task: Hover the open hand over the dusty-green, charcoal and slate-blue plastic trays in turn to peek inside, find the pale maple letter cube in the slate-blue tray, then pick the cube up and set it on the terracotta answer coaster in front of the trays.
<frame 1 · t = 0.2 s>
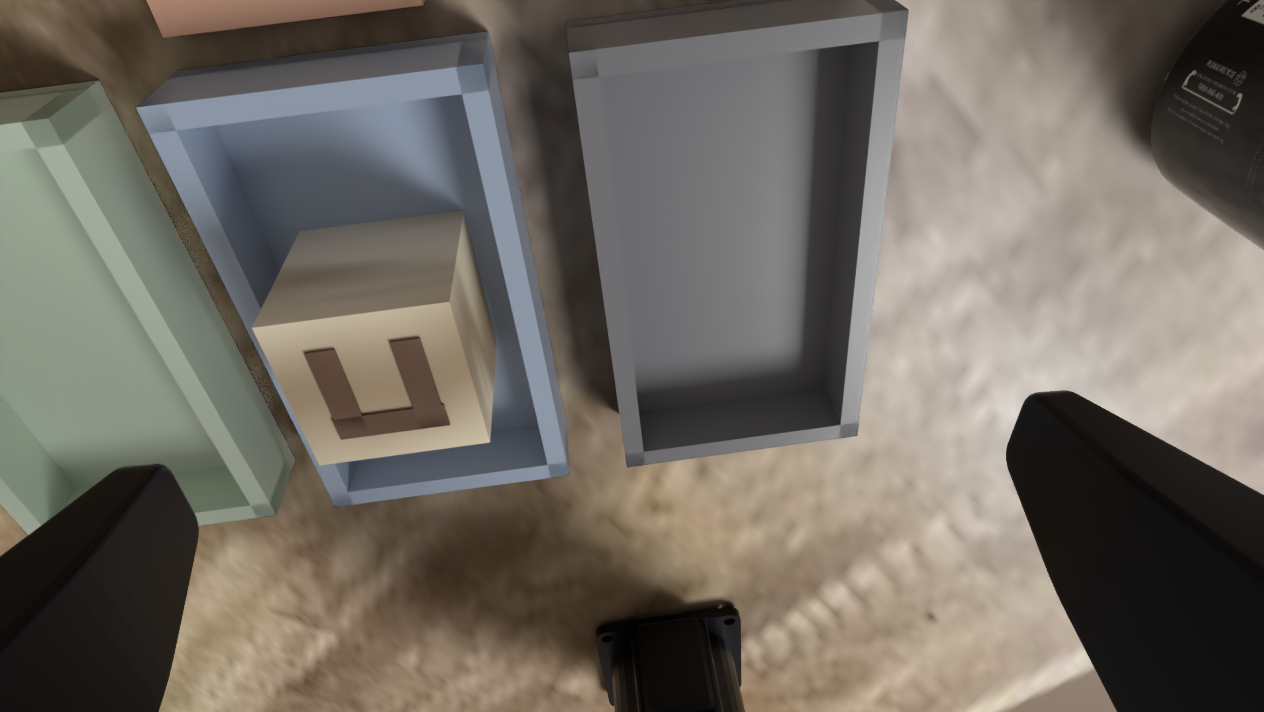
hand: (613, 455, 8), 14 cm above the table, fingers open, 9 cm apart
tray A charcoal: (723, 236, 23), on the table
beverage can: (1248, 70, 22), on the table
tray C green: (85, 320, 23), on the table
tray B slate: (407, 278, 23), on the table
letter cube: (404, 289, 23), point 1 cm above the table, touching tray B slate
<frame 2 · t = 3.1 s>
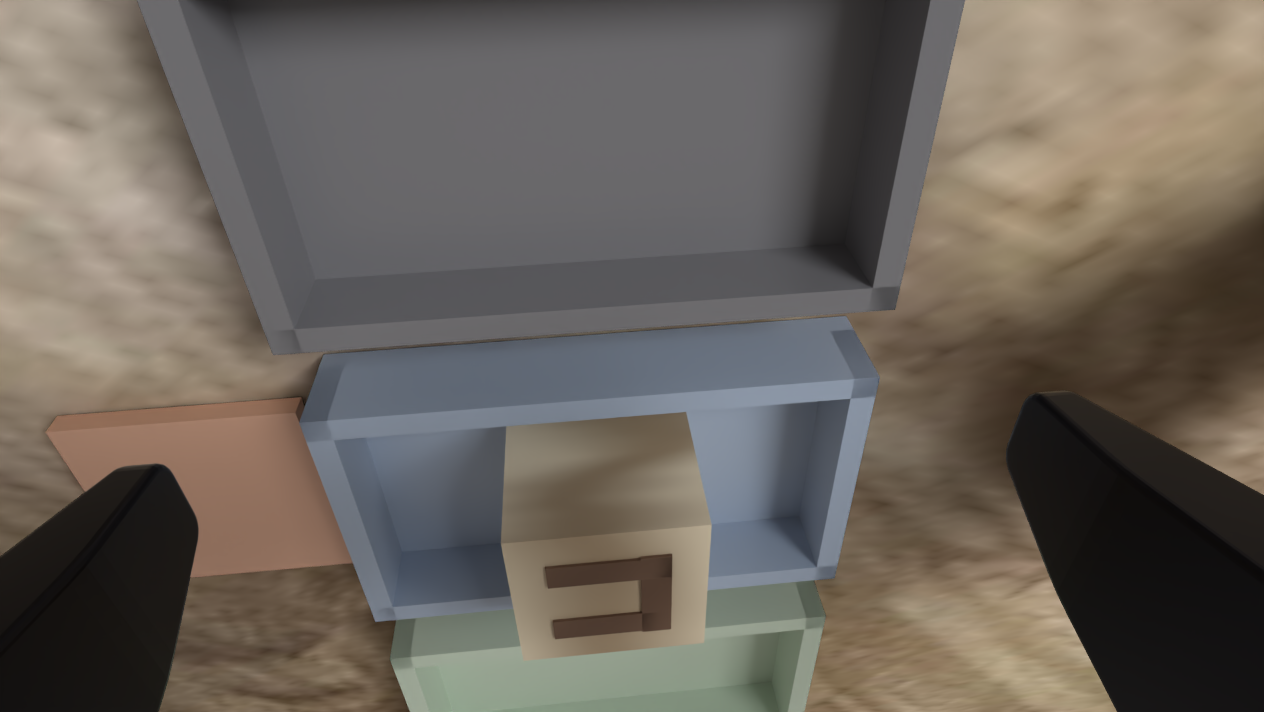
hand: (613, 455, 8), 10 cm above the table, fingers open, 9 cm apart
tray A charcoal: (575, 113, 16), on the table
tray C green: (610, 635, 28), on the table
tray B slate: (597, 443, 22), on the table
answer coaster: (221, 487, 22), on the table
letter cube: (598, 458, 21), point 1 cm above the table, touching tray B slate
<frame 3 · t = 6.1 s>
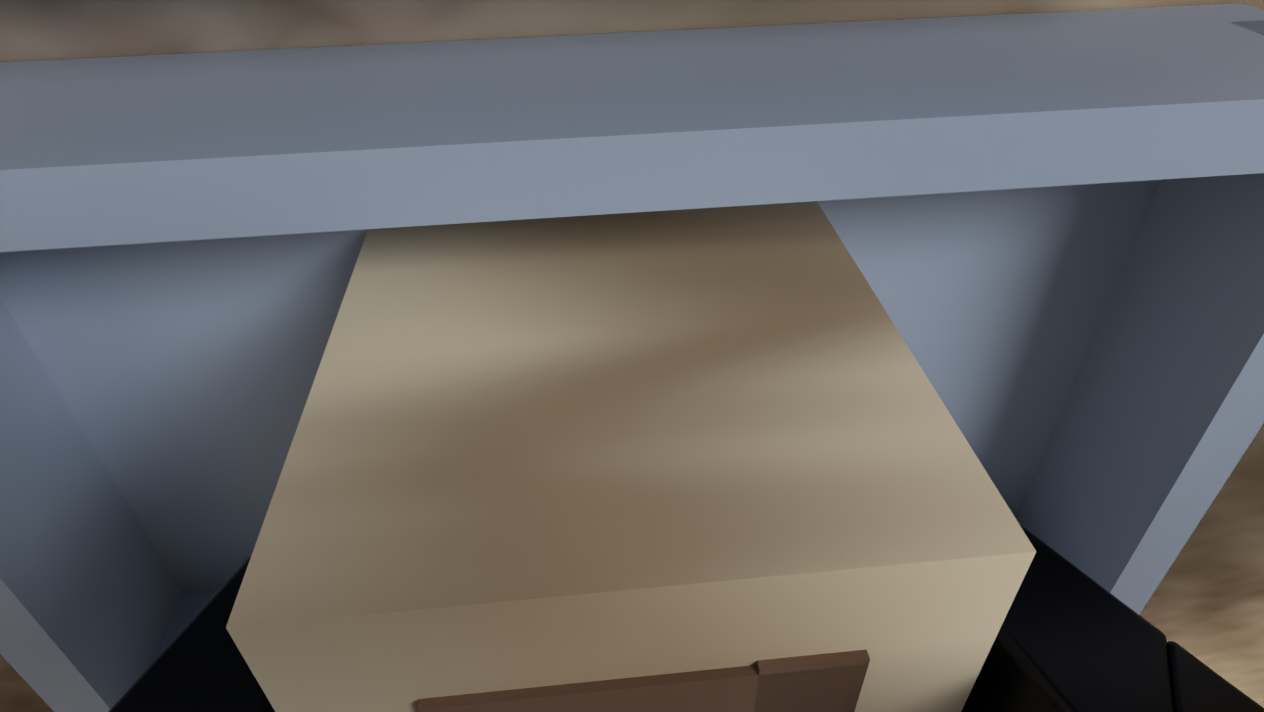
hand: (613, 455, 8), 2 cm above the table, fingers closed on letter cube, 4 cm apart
tray B slate: (601, 352, 10), on the table
letter cube: (605, 383, 9), point 1 cm above the table, touching gripper, tray B slate
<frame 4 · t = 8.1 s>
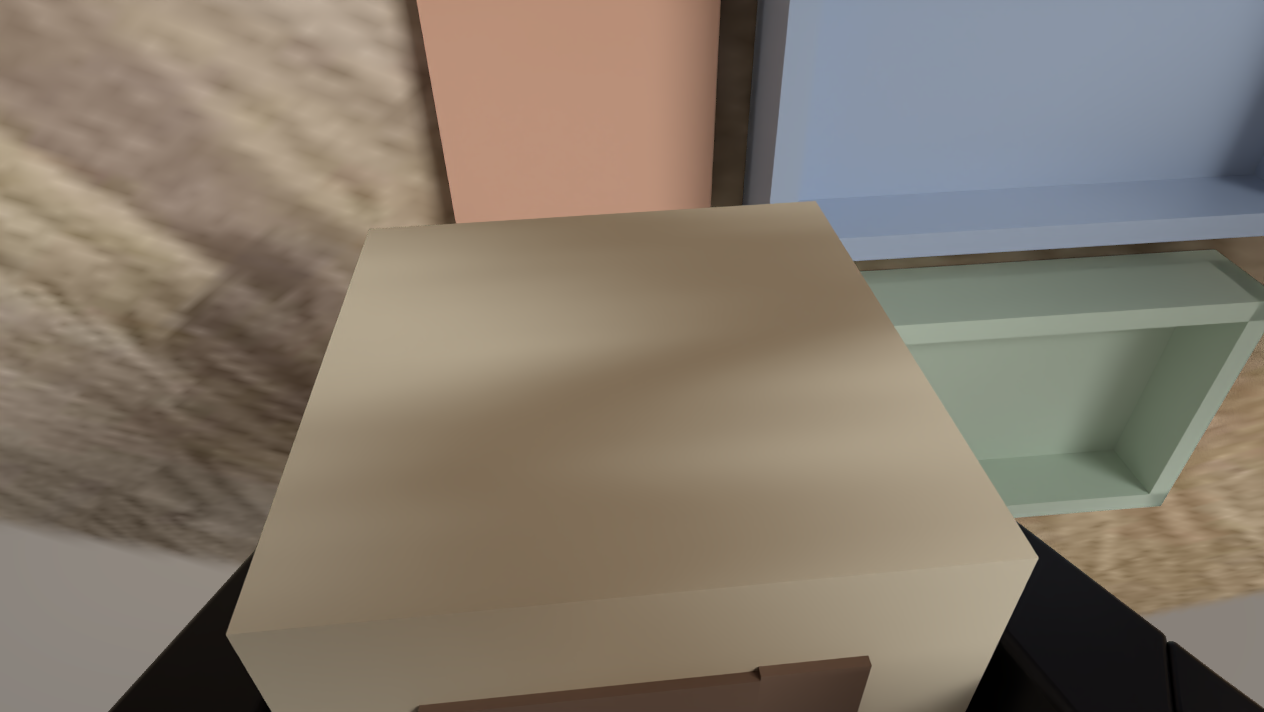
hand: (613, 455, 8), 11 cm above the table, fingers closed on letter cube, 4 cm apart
tray C green: (947, 373, 23), on the table
tray B slate: (1045, 43, 17), on the table
answer coaster: (576, 88, 17), on the table
letter cube: (605, 385, 9), point 10 cm above the table, touching gripper
when the fingers open (3 cm above the table, at t = 10.0 s): letter cube stays where it is, resting on answer coaster.
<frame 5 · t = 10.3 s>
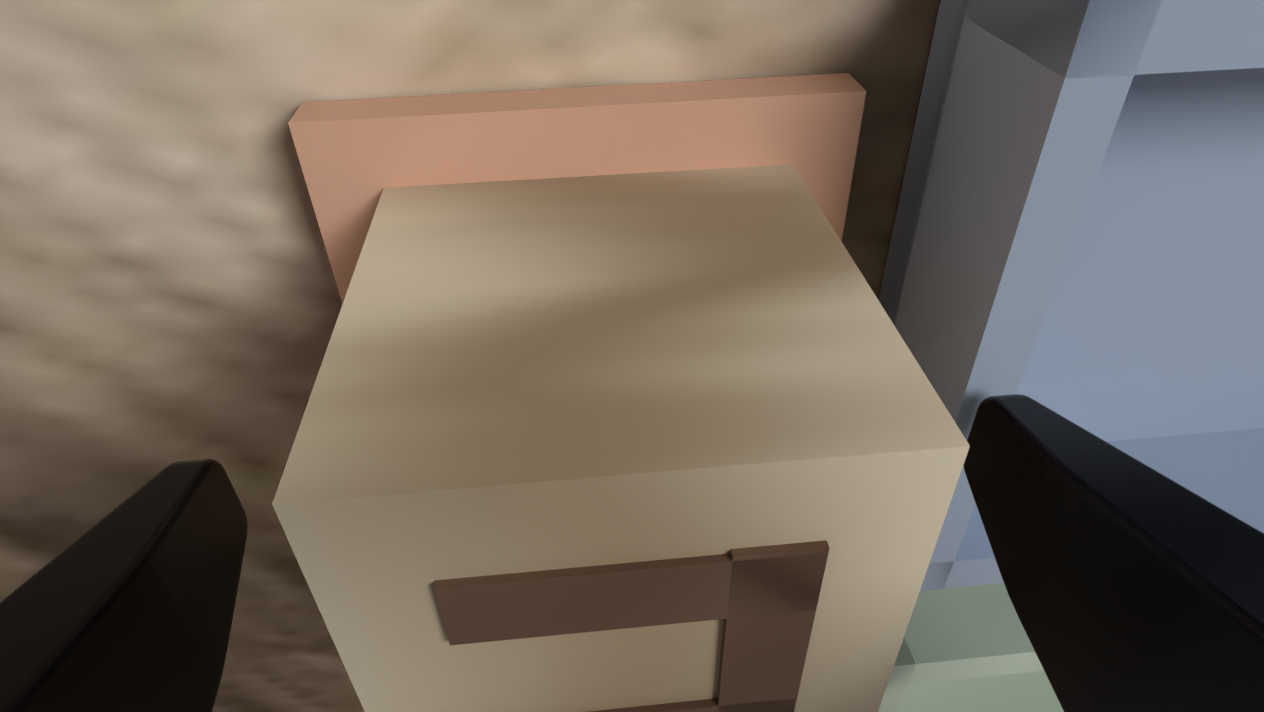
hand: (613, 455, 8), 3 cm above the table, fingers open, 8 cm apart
tray C green: (1108, 625, 17), on the table
answer coaster: (595, 312, 10), on the table
letter cube: (600, 340, 10), point 1 cm above the table, touching answer coaster
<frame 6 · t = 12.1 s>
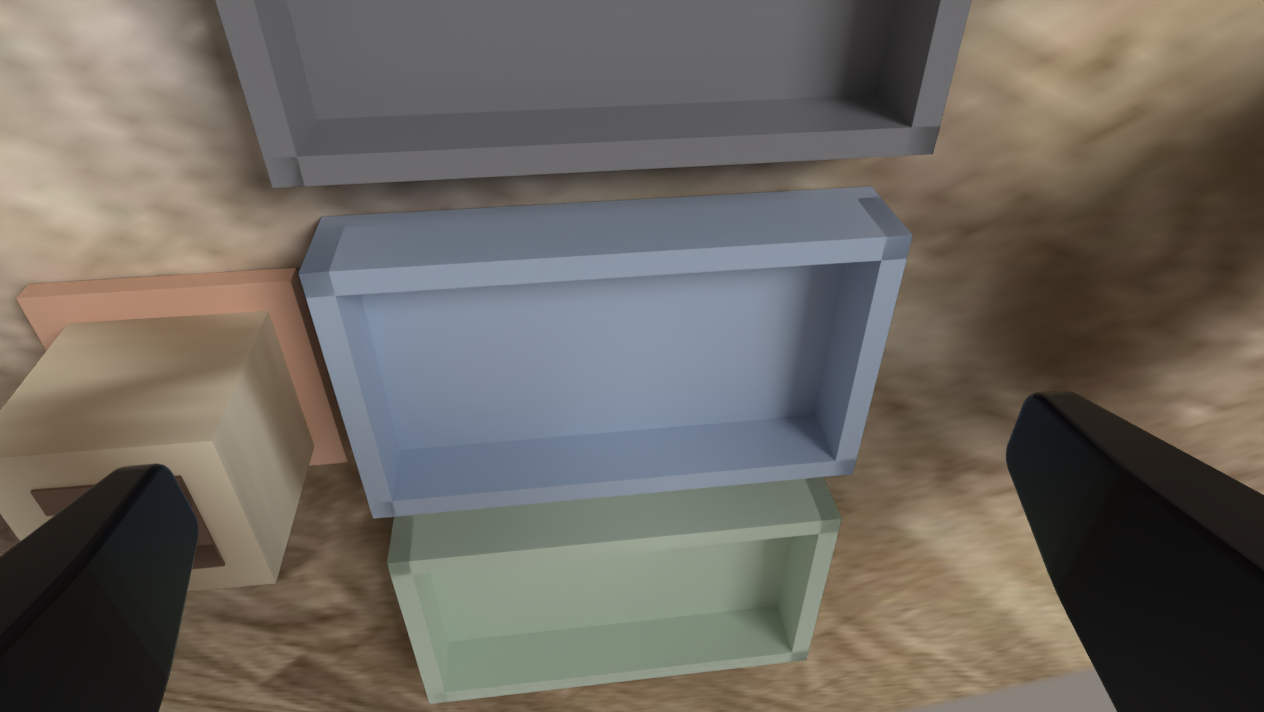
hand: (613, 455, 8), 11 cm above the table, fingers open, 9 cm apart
tray C green: (613, 554, 27), on the table
tray B slate: (608, 330, 21), on the table
answer coaster: (206, 374, 20), on the table
letter cube: (201, 389, 20), point 1 cm above the table, touching answer coaster
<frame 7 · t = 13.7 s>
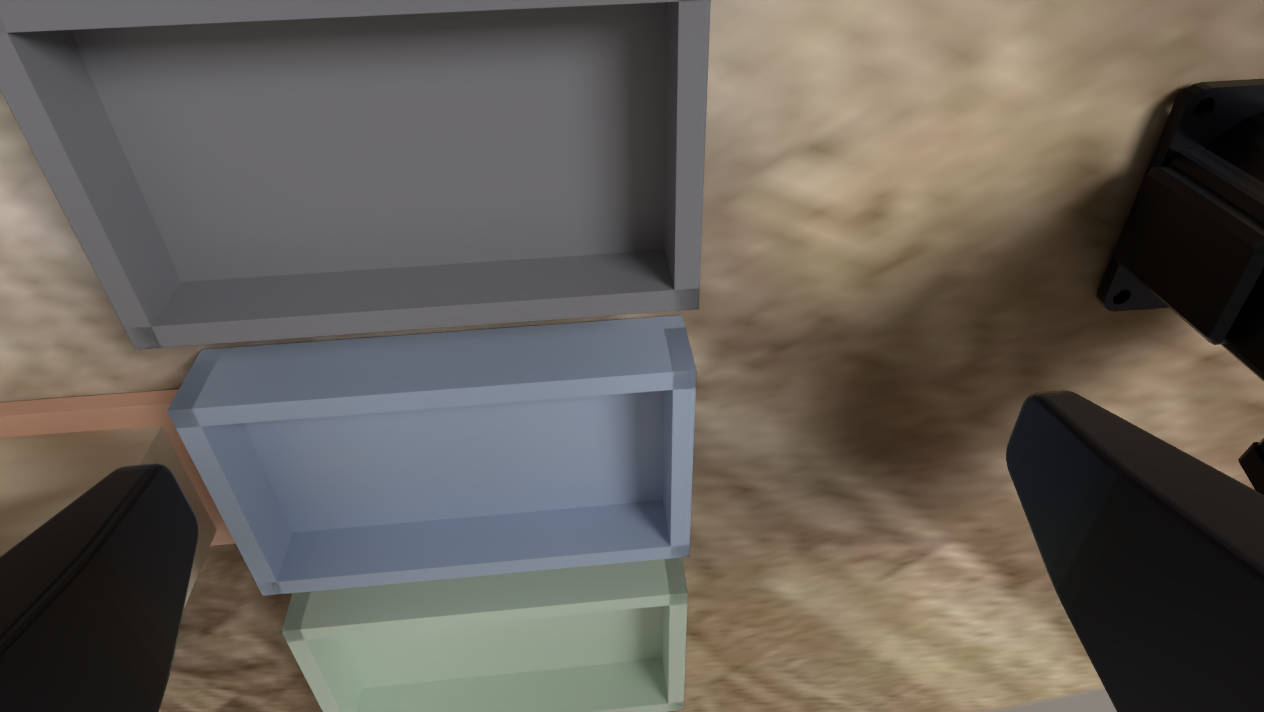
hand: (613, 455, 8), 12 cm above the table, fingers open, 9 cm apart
tray A charcoal: (405, 133, 18), on the table
tray C green: (504, 613, 30), on the table
tray B slate: (466, 432, 24), on the table
answer coaster: (119, 472, 24), on the table
letter cube: (112, 487, 23), point 1 cm above the table, touching answer coaster
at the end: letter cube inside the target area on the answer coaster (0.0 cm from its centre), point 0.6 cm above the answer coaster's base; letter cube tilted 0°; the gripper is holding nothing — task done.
